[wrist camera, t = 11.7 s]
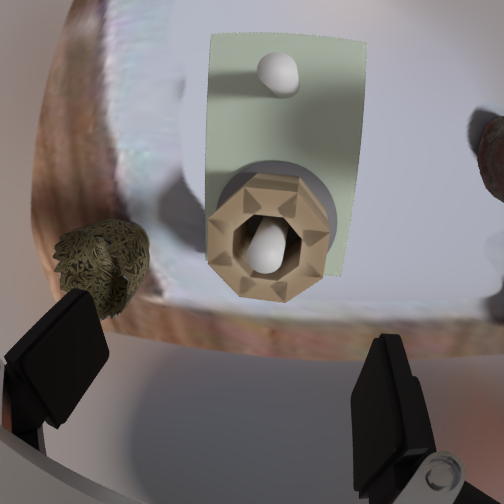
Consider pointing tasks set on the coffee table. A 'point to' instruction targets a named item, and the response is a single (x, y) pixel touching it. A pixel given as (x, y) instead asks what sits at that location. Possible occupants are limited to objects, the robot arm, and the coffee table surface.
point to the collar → (239, 238)
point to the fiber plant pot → (104, 263)
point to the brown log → (493, 157)
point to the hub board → (285, 130)
